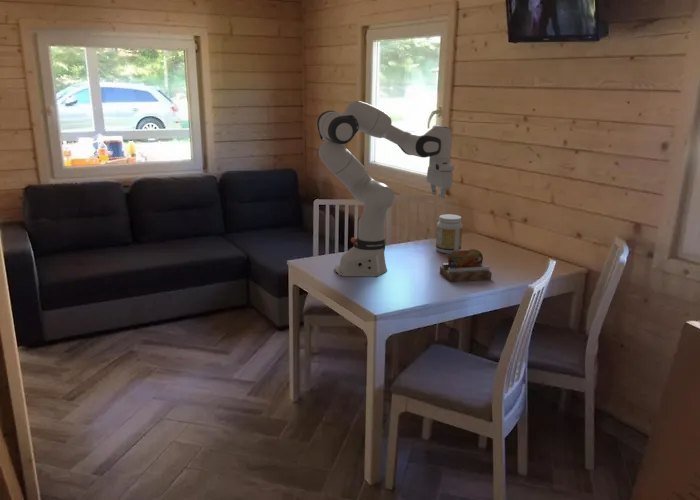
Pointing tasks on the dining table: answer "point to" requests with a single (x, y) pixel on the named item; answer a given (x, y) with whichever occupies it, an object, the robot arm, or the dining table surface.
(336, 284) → the dining table surface
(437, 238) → the supplement tub
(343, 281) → the dining table surface
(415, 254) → the dining table surface
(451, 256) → the tin
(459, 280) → the dock
